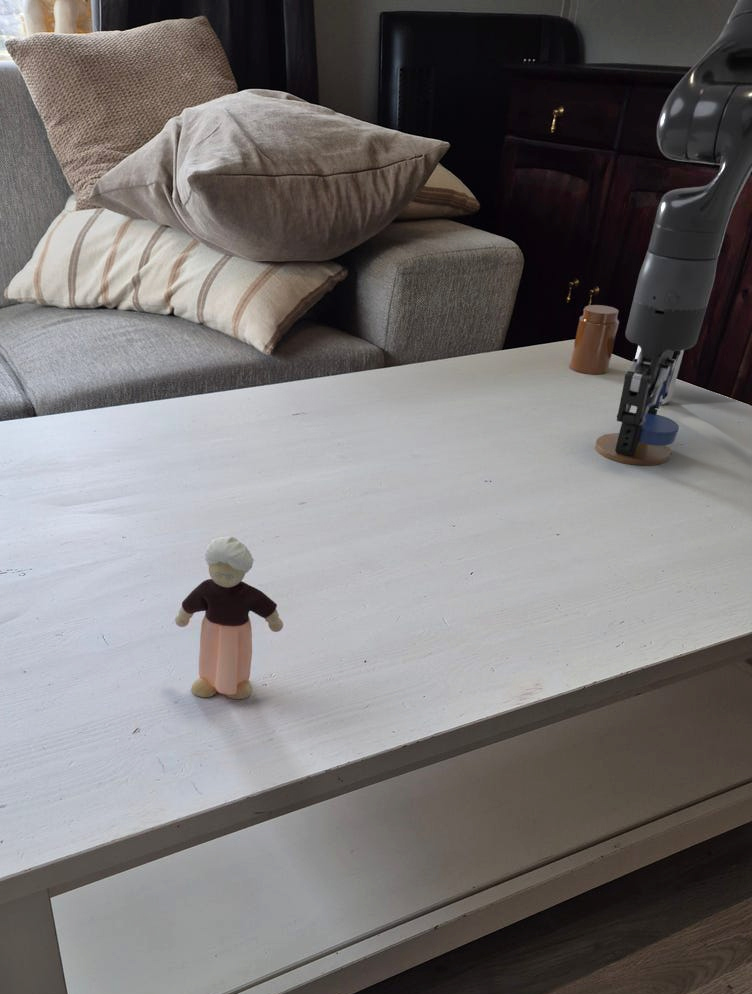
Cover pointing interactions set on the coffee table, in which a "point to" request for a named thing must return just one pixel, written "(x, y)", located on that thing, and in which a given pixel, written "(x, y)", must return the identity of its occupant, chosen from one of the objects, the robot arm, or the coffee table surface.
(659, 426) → the lid
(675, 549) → the coffee table surface
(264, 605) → the grandmother figurine
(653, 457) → the coaster
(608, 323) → the jar
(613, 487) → the coffee table surface
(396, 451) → the coffee table surface
